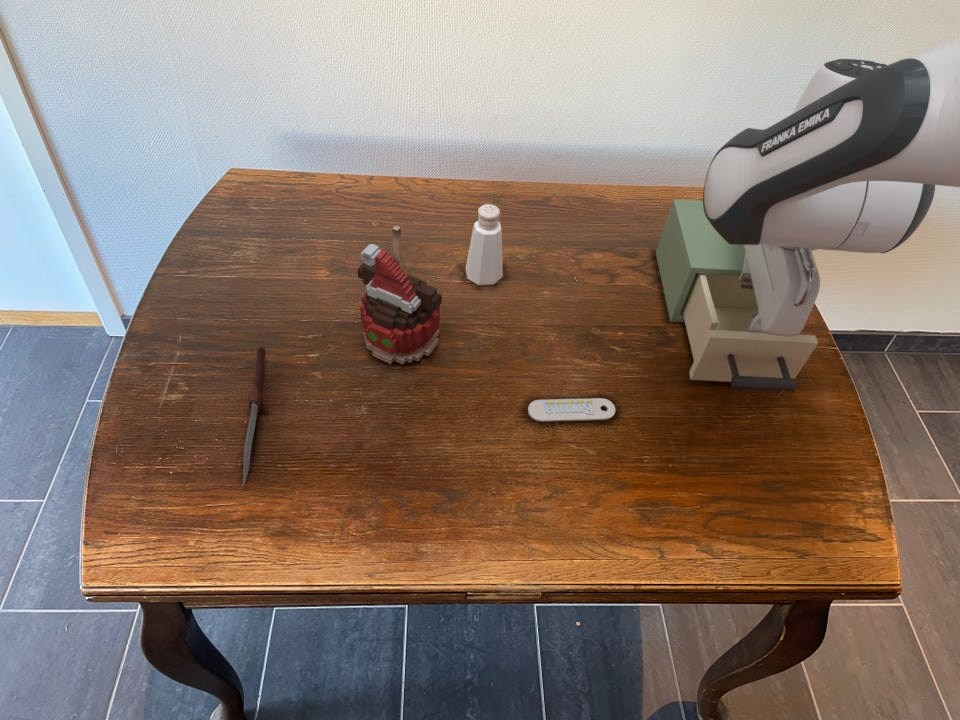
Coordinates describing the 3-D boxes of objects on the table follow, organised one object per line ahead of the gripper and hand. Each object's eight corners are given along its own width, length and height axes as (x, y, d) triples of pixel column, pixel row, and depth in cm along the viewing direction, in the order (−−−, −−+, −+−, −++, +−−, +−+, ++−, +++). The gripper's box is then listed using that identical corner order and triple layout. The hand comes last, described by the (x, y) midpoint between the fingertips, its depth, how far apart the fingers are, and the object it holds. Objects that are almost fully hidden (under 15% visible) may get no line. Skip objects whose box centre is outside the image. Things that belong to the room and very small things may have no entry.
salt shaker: (470, 256, 99) (474, 193, 90) (507, 265, 98) (514, 201, 90) (459, 281, 95) (462, 217, 87) (497, 290, 95) (504, 227, 86)
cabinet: (771, 327, 93) (801, 273, 86) (670, 321, 93) (691, 267, 85) (748, 258, 102) (773, 204, 94) (655, 253, 102) (673, 198, 94)
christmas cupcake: (455, 331, 89) (460, 220, 76) (419, 380, 84) (417, 270, 70) (385, 301, 92) (378, 189, 78) (345, 346, 87) (329, 235, 73)
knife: (252, 491, 73) (247, 477, 71) (237, 492, 73) (231, 478, 71) (271, 358, 85) (267, 342, 83) (258, 359, 85) (254, 342, 82)
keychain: (613, 396, 83) (618, 416, 81) (612, 399, 84) (617, 419, 82) (527, 398, 82) (530, 419, 80) (526, 401, 83) (529, 422, 81)
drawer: (801, 416, 82) (831, 375, 76) (697, 411, 82) (718, 369, 76) (766, 311, 94) (789, 268, 88) (674, 306, 93) (691, 263, 87)
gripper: (850, 281, 66) (793, 374, 77) (807, 164, 80) (763, 256, 90) (783, 273, 66) (735, 367, 77) (752, 158, 80) (715, 251, 90)
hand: (750, 306), depth 84 cm, fingers open, 6 cm apart
